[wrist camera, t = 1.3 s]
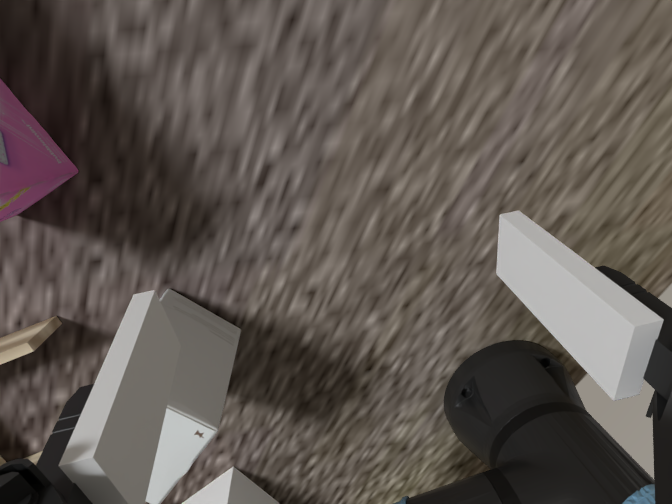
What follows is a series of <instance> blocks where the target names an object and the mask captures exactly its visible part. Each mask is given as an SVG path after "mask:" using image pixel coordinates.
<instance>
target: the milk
mask: <svg viewBox="0 0 672 504" xmlns="http://www.w3.org/2000/svg"><path fill="white" fill-rule="evenodd" d="M182 504H280V503H279V502H277V501H276V500H275V499H274V498H272V497H271V496H270V495H269V494H267V493H266V492H265V491H264V490H262V489H261V488H260V487H259V486H257V485H256V484H255V483H254V482H252V481H251V480H250V479H249V478H247V477H246V476H245V475H244V474H242V473H241V472H240V471H239V470H237V469H236V468H235V467H234V466H233V467H232V468H231V469H229V470H228V471H226V472H225V473H224V474H222V475H221V476H219V477H218V478H217V479H215V480H214V481H212V482H211V483H210V484H208V485H207V486H205V487H204V488H203V489H201V490H200V491H198V492H197V493H196V494H194V495H193V496H191V497H190V498H189V499H187V500H186V501H184V502H183V503H182Z"/></svg>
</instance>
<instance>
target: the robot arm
mask: <svg viewBox="0 0 672 504" xmlns="http://www.w3.org/2000/svg"><path fill="white" fill-rule="evenodd" d="M496 274H497V275H498V276H499V277H500V278H501V279H502V280H503V282H504V283H505V284H506V285H507V286H508V287H509V288H510V289H511V290H512V291H513V292H514V293H515V295H516V296H517V297H518V298H519V299H520V300H521V301H522V302H523V303H524V304H525V305H526V307H527V308H528V309H529V310H530V311H531V312H532V313H533V314H534V315H535V316H536V317H537V318H538V320H539V321H540V322H541V323H542V324H543V325H544V326H545V327H546V328H547V329H548V330H549V332H550V333H551V334H552V335H553V336H554V337H555V338H556V339H557V340H558V341H559V342H560V343H561V345H562V346H563V347H564V348H565V349H566V350H567V351H568V352H569V353H570V354H571V355H572V357H573V358H574V359H575V360H576V361H577V362H578V363H579V364H580V365H581V366H582V367H583V368H584V370H585V371H586V372H587V373H588V374H589V375H590V376H591V377H592V378H593V379H594V380H595V381H596V383H597V384H598V385H599V386H600V387H601V388H602V389H603V390H604V391H605V392H606V393H607V394H608V396H609V397H610V398H611V399H612V400H613V401H616V400H620V399H624V398H628V397H631V396H635V395H639V393H640V390H641V387H642V384H643V381H644V379H645V380H646V381H647V382H648V383H649V384H650V385H651V386H652V387H653V388H654V389H655V391H654V394H653V397H652V400H651V403H650V406H649V408H648V411H647V414H646V416H647V417H650V418H651V416H652V413H653V442H654V443H653V445H654V479H655V480H654V479H653V478H652V477H650V475H649V474H648V473H647V472H646V471H645V470H644V469H643V468H642V467H641V466H640V465H639V464H638V463H637V462H636V461H635V460H634V459H633V458H632V457H631V456H630V455H629V454H628V453H627V452H626V451H625V450H624V449H623V448H622V447H621V446H620V445H619V444H618V443H617V442H616V441H615V440H614V439H613V438H612V437H611V436H610V435H609V434H608V432H606V430H604V428H602V426H601V425H600V424H599V423H598V422H597V421H596V420H594V418H592V416H591V415H590V414H589V413H588V412H587V411H586V410H585V407H584V405H583V403H582V401H581V399H580V397H579V394H578V392H577V390H576V387H575V385H574V383H573V381H572V379H571V376H570V374H569V372H568V371H567V369H566V368H565V367H564V365H563V364H562V363H561V362H560V361H559V360H558V359H557V358H556V357H555V356H554V355H553V354H552V353H551V352H549V351H548V350H547V349H545V348H544V347H542V346H540V345H538V344H535V343H532V342H527V341H506V342H500V343H497V344H493V345H491V346H488V347H486V348H484V349H482V350H480V351H478V352H476V353H475V354H473V355H472V356H471V357H469V358H468V359H467V360H466V361H464V362H463V363H462V364H461V365H460V367H459V368H458V369H457V370H456V371H455V373H454V374H453V376H452V377H451V379H450V381H449V383H448V385H447V388H446V392H445V396H444V410H445V414H446V417H447V419H448V421H449V423H450V425H451V427H452V429H453V431H454V433H455V435H456V436H457V437H458V439H459V440H460V441H461V442H462V443H463V444H464V445H465V446H466V447H467V448H468V449H469V450H470V451H471V452H473V453H474V454H475V455H476V456H477V457H478V458H479V459H480V460H481V461H483V462H484V463H485V464H486V465H487V466H488V467H489V468H490V469H491V470H489V471H486V472H482V473H479V474H476V475H473V476H471V477H468V478H465V479H462V480H459V481H456V482H453V483H451V484H448V485H445V486H442V487H439V488H436V489H434V490H431V491H428V492H425V493H422V494H419V495H416V496H414V497H411V498H409V497H408V496H405V497H403V498H402V500H401V501H399V502H396V503H394V504H672V308H671V307H669V306H668V305H666V304H665V303H664V302H662V301H660V300H659V299H658V298H657V297H655V296H654V295H652V294H651V293H650V292H648V293H647V292H646V290H645V289H644V288H642V287H641V286H640V285H638V284H637V285H636V284H635V282H634V281H633V280H631V279H630V278H628V277H627V276H626V275H624V274H623V273H621V272H619V271H616V270H614V269H611V268H609V267H606V266H600V267H595V268H594V267H593V266H592V265H590V264H589V263H588V262H586V261H585V260H584V259H583V258H581V257H580V256H579V255H577V254H576V253H575V252H573V251H572V250H571V249H569V248H568V247H567V246H565V245H564V244H563V243H561V242H560V241H559V240H557V239H556V238H555V237H553V236H552V235H551V234H549V233H548V232H547V231H545V230H544V229H543V228H541V227H540V226H539V225H537V224H536V223H535V222H533V221H532V220H531V219H529V218H528V217H527V216H525V215H524V214H523V213H521V212H520V211H514V212H510V213H505V214H500V218H499V236H498V254H497V271H496ZM180 348H181V344H180V342H179V340H178V338H177V336H176V334H175V332H174V329H173V327H172V325H171V323H170V321H169V319H168V317H167V315H166V312H165V310H164V308H163V306H162V304H161V302H160V300H159V298H158V295H157V293H156V291H155V290H152V291H148V292H143V293H139V294H134V295H133V297H132V299H131V302H130V304H129V306H128V309H127V311H126V313H125V315H124V318H123V320H122V322H121V324H120V327H119V329H118V331H117V334H116V336H115V338H114V340H113V343H112V345H111V347H110V349H109V352H108V354H107V356H106V359H105V361H104V363H103V365H102V368H101V370H100V372H99V374H98V377H97V379H96V381H95V384H92V385H88V386H83V387H80V388H79V389H78V390H77V391H76V393H75V394H74V395H73V396H72V397H71V398H70V399H69V400H68V401H67V403H66V405H65V407H64V409H63V411H62V413H61V415H60V417H59V421H57V423H56V425H55V427H54V429H53V431H52V432H53V434H52V435H50V437H49V439H48V441H47V443H46V445H45V448H44V450H43V452H42V454H41V456H40V458H39V460H38V462H37V464H36V465H35V464H34V463H33V462H31V461H30V460H29V459H15V460H12V461H9V462H6V463H4V464H3V465H1V466H0V504H145V500H146V496H147V492H148V487H149V483H150V479H151V474H152V470H153V466H154V461H155V457H156V453H157V448H158V444H159V439H160V435H161V431H162V426H163V422H164V418H165V413H166V409H167V405H168V400H169V396H170V391H171V387H172V383H173V378H174V374H175V370H176V365H177V361H178V357H179V352H180Z"/></svg>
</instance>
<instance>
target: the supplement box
mask: <svg viewBox="0 0 672 504" xmlns="http://www.w3.org/2000/svg"><path fill="white" fill-rule="evenodd" d="M160 302H161V304H162V306H163V308H164V310H165V312H166V315H167V317H168V319H169V321H170V323H171V325H172V327H173V329H174V332H175V334H176V336H177V338H178V340H179V342H180V344H181V348H180V352H179V357H178V361H177V365H176V370H175V374H174V378H173V383H172V387H171V391H170V396H169V400H168V405H167V409H166V413H165V418H164V422H163V426H162V431H161V435H160V439H159V444H158V448H157V453H156V457H155V461H154V466H153V470H152V474H151V479H150V483H149V487H148V492H147V496H146V500H145V501H146V502H149V503H151V504H161V502H162V501H163V500H164V499H165V497H166V496H167V495H168V494H169V492H170V491H171V490H172V489H173V487H174V486H175V485H176V484H177V482H178V481H179V480H180V479H181V477H182V476H183V475H184V474H185V473H186V472H187V471H188V470H189V468H190V467H191V465H192V463H193V462H194V461H195V460H196V458H197V457H198V456H199V455H200V453H201V452H202V451H203V450H204V448H205V447H206V446H207V445H208V444H209V442H210V441H211V440H212V438H213V437H214V436H215V435H216V433H217V432H218V428H219V424H220V420H221V416H222V411H223V407H224V403H225V398H226V394H227V390H228V386H229V381H230V377H231V373H232V368H233V364H234V360H235V355H236V351H237V347H238V342H239V338H240V333H241V329H240V328H238V327H236V326H234V325H233V324H231V323H229V322H227V321H226V320H224V319H222V318H220V317H219V316H217V315H215V314H213V313H212V312H210V311H208V310H206V309H205V308H203V307H201V306H199V305H198V304H196V303H194V302H192V301H191V300H189V299H187V298H185V297H184V296H182V295H180V294H178V293H177V292H175V291H173V290H171V289H167V290H166V292H165V293H164V294H163V296H162V297H161V298H160Z"/></svg>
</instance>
